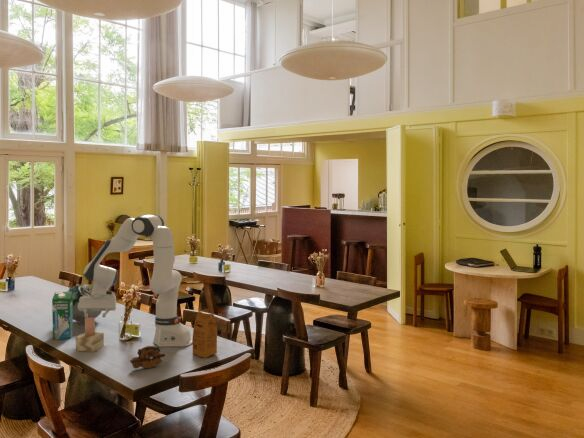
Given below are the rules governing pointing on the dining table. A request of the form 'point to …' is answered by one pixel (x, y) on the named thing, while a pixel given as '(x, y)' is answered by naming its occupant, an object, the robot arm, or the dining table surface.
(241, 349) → the dining table surface
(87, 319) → the brown upright cylinder
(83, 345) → the beige patterned block
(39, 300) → the dining table surface
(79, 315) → the flower arrangement
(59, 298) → the milk carton
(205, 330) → the coffee package
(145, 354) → the wooden carving
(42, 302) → the dining table surface
